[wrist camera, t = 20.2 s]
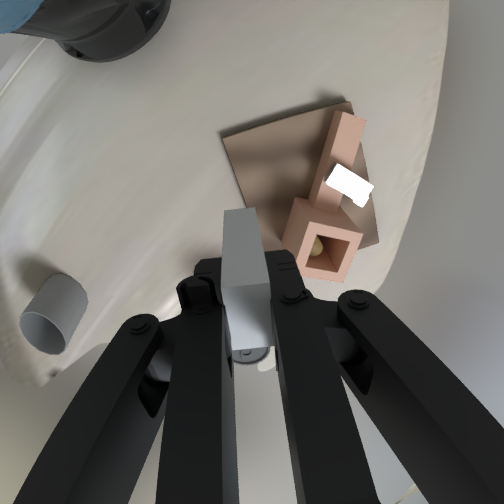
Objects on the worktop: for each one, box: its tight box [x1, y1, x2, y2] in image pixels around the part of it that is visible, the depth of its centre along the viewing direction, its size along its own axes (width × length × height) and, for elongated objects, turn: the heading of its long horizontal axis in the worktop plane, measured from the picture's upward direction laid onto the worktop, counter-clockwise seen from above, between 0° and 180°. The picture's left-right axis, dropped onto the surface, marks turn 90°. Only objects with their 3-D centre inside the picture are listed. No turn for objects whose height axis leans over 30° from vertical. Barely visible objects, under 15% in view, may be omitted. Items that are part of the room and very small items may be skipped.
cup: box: [19, 274, 88, 355], centre depth 41 cm, size 8×8×10 cm
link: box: [281, 110, 366, 283], centre depth 35 cm, size 18×6×8 cm, turn 166°
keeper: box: [323, 161, 374, 207], centre depth 36 cm, size 3×5×7 cm, turn 62°
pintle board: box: [222, 101, 379, 256], centre depth 37 cm, size 20×16×8 cm
